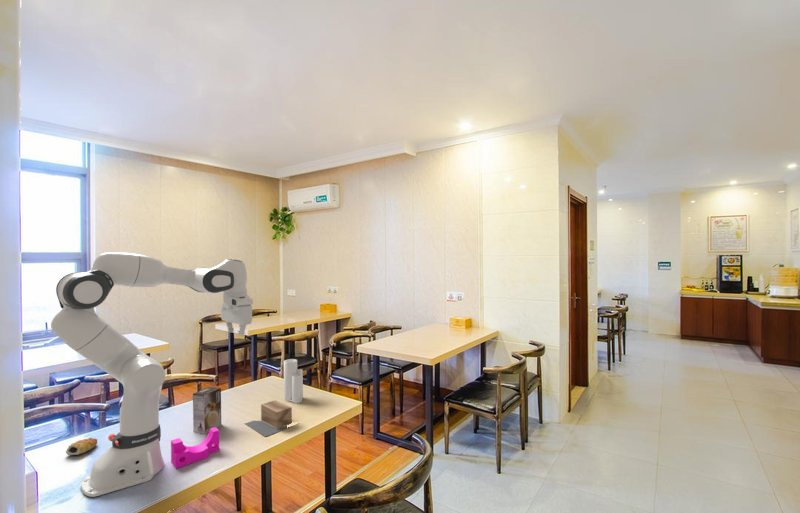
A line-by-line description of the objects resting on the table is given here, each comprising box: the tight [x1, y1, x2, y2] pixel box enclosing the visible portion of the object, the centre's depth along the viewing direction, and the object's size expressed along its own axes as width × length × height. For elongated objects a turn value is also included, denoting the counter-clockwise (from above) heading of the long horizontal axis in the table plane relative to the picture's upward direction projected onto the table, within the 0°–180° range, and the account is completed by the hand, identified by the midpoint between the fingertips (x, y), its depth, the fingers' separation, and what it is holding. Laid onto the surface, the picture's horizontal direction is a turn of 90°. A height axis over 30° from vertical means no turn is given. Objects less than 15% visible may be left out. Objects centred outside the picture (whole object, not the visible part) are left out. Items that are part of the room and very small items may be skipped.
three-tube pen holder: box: [283, 358, 304, 404], centre depth 192 cm, size 11×7×20 cm, turn 59°
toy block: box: [170, 427, 220, 469], centre depth 139 cm, size 15×6×8 cm, turn 134°
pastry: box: [65, 437, 98, 456], centre depth 144 cm, size 9×7×4 cm
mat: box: [244, 420, 290, 438], centre depth 170 cm, size 30×18×1 cm, turn 138°
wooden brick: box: [260, 399, 293, 429], centre depth 167 cm, size 7×13×7 cm, turn 48°
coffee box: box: [192, 386, 222, 435], centre depth 162 cm, size 9×6×16 cm
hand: (236, 333), depth 155 cm, fingers open, 8 cm apart
